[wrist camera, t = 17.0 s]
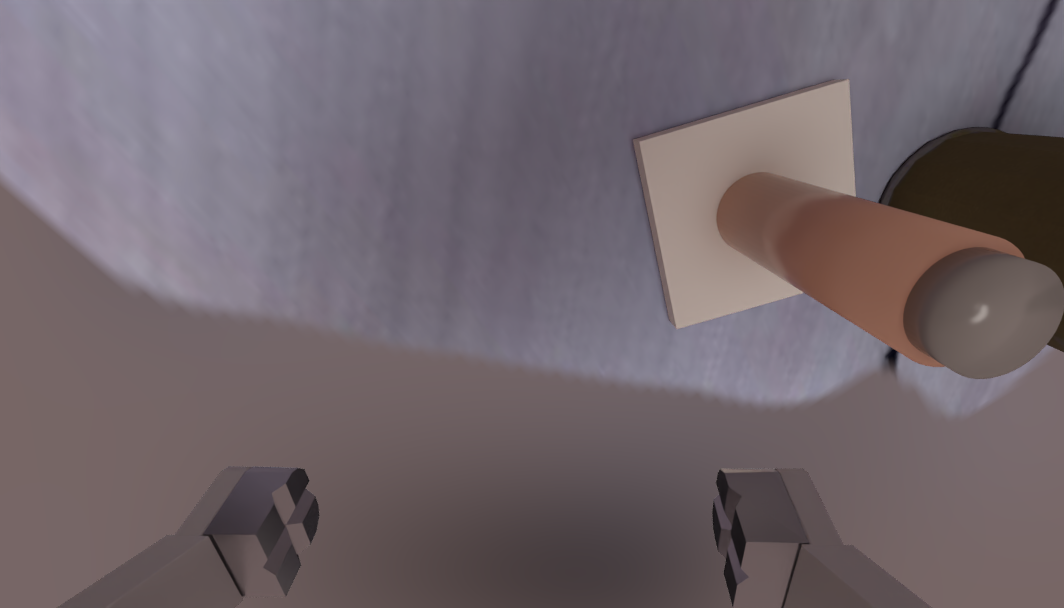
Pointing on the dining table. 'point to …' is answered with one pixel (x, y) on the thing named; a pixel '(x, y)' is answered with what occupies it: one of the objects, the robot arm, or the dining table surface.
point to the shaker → (898, 273)
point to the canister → (991, 191)
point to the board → (712, 167)
